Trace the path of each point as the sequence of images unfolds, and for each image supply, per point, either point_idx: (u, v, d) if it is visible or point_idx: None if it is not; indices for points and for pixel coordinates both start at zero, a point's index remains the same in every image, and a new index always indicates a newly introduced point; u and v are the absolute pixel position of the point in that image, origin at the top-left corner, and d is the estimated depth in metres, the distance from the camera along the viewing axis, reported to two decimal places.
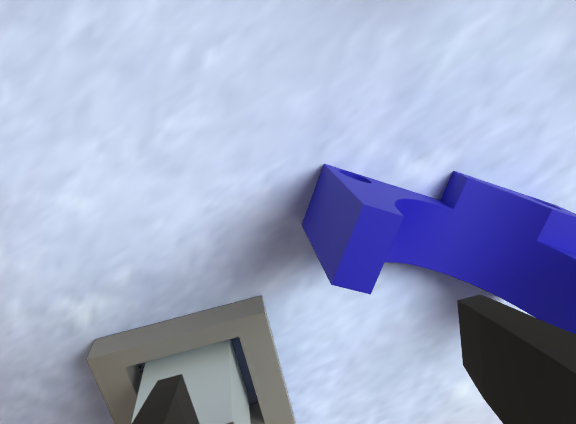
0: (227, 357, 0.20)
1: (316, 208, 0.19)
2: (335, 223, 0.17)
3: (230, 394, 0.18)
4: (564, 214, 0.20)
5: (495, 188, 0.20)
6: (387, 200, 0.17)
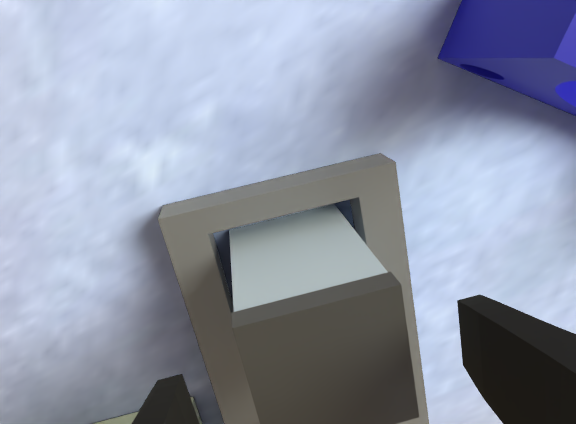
0: (345, 222, 0.15)
1: (473, 17, 0.14)
2: None
3: (369, 250, 0.13)
4: None
5: None
6: None
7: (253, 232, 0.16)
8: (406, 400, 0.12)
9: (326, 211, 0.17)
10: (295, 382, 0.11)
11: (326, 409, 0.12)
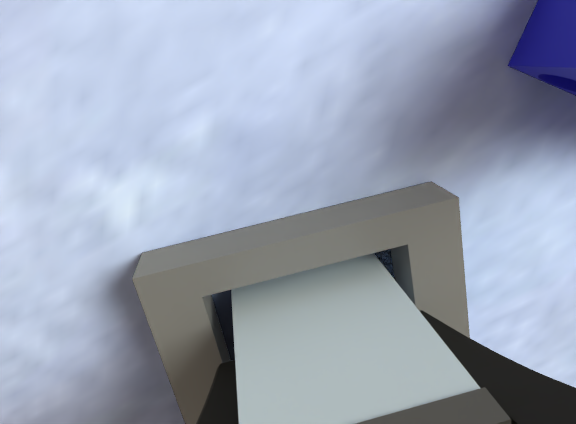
0: (391, 281, 0.11)
1: (567, 10, 0.10)
2: None
3: (438, 337, 0.09)
4: None
5: None
6: None
7: (263, 290, 0.12)
8: None
9: (360, 259, 0.12)
10: None
11: None
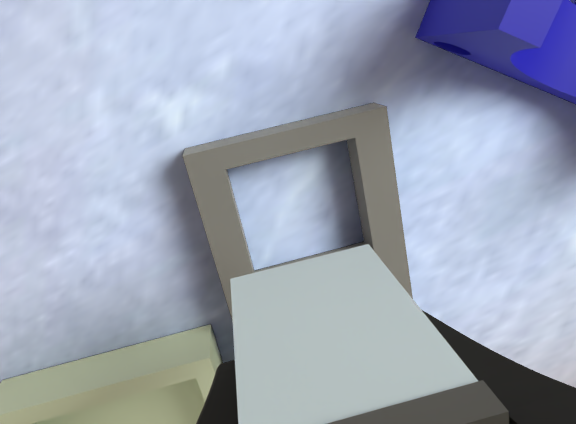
0: (390, 276, 0.11)
1: (443, 1, 0.17)
2: None
3: (436, 331, 0.09)
4: None
5: None
6: None
7: (263, 286, 0.12)
8: None
9: (359, 256, 0.12)
10: None
11: None
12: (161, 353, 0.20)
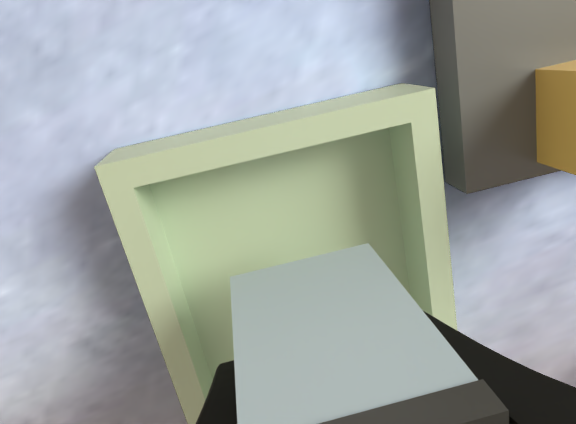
0: (390, 276, 0.11)
1: None
2: None
3: (436, 330, 0.09)
4: None
5: None
6: None
7: (262, 284, 0.12)
8: None
9: (359, 254, 0.12)
10: None
11: None
12: (349, 101, 0.14)
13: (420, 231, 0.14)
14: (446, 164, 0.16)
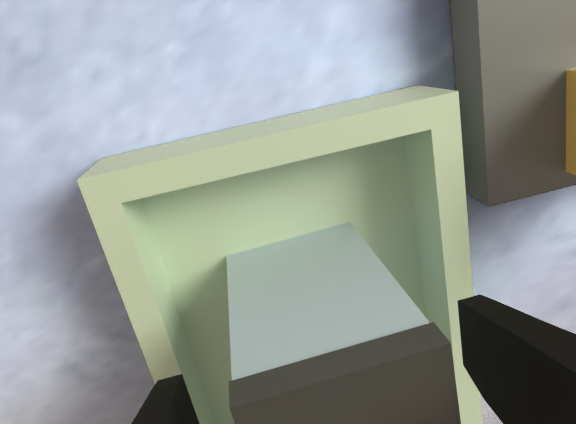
0: (366, 247, 0.13)
1: None
2: None
3: (400, 288, 0.10)
4: None
5: None
6: None
7: (255, 260, 0.13)
8: None
9: (341, 232, 0.14)
10: None
11: None
12: (361, 105, 0.13)
13: (439, 248, 0.13)
14: (464, 173, 0.15)
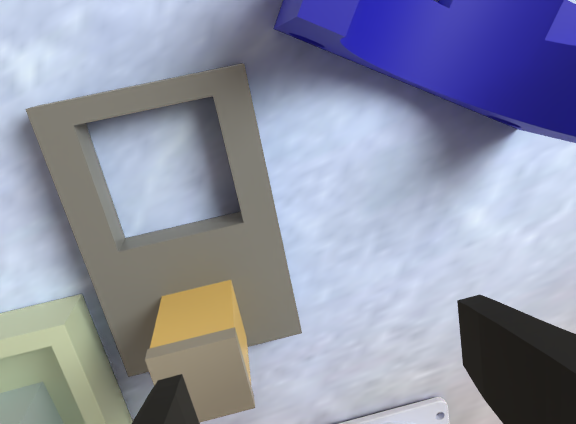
0: (23, 414, 0.19)
1: None
2: None
3: None
4: None
5: None
6: None
7: None
8: None
9: (28, 392, 0.20)
10: None
11: None
12: (21, 321, 0.19)
13: None
14: None
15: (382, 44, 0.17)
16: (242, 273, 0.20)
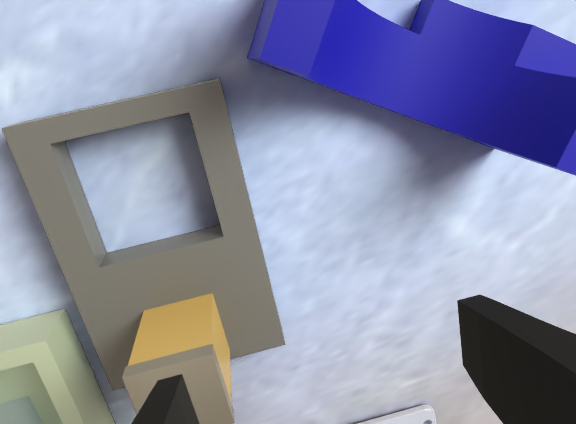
0: None
1: (259, 22, 0.17)
2: (271, 5, 0.14)
3: None
4: (546, 32, 0.17)
5: (467, 9, 0.18)
6: None
7: None
8: None
9: (14, 407, 0.21)
10: None
11: None
12: (4, 337, 0.19)
13: None
14: None
15: (353, 73, 0.17)
16: (224, 286, 0.20)
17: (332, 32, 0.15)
